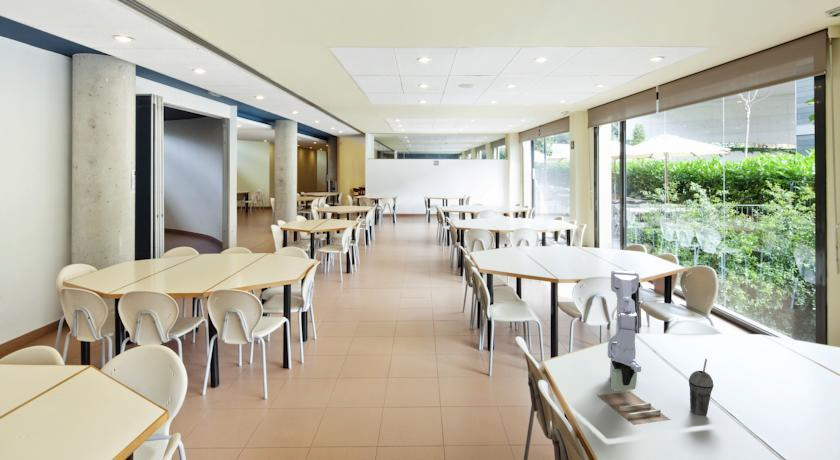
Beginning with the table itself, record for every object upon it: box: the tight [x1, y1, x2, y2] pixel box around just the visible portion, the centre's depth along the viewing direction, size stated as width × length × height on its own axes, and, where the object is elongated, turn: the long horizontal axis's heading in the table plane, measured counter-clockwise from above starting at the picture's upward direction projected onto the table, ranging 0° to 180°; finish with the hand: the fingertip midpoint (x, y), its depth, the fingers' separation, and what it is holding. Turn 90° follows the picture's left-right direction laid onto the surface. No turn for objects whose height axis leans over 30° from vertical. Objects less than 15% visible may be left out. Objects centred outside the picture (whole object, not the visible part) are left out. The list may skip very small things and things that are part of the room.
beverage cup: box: [688, 358, 714, 417], centre depth 154 cm, size 7×7×20 cm
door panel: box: [610, 369, 637, 392], centre depth 162 cm, size 8×2×7 cm, turn 103°
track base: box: [596, 390, 671, 426], centre depth 158 cm, size 14×20×3 cm
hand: (623, 382), depth 162 cm, fingers closed on door panel, 2 cm apart
